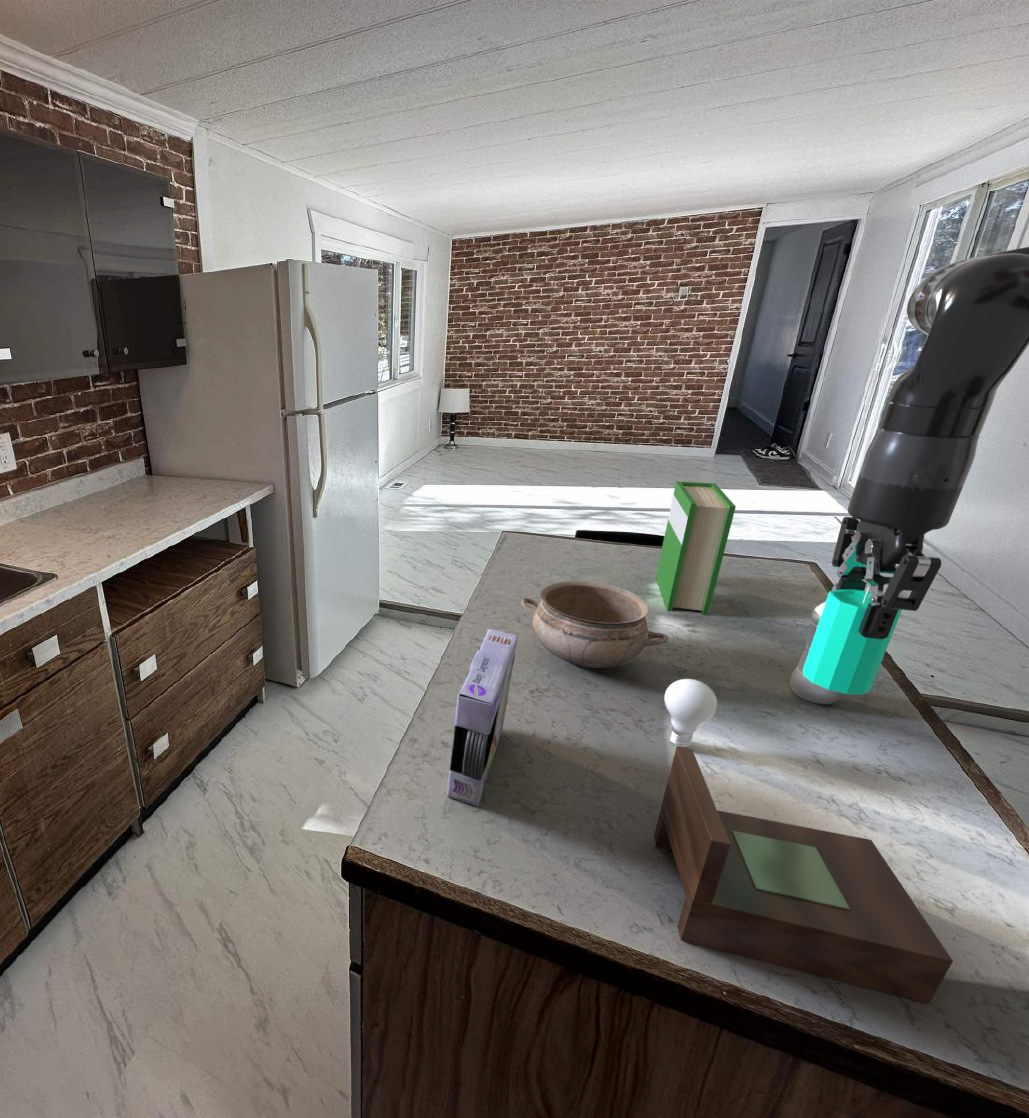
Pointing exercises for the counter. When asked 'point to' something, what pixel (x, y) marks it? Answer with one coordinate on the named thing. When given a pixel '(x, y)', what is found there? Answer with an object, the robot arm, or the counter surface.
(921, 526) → the robot arm
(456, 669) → the counter surface
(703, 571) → the hardback book
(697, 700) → the lightbulb
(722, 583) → the counter surface
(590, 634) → the cooking pot
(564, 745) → the counter surface
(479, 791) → the cake pan box
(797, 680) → the plastic bottle
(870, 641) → the candle
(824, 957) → the shelf
